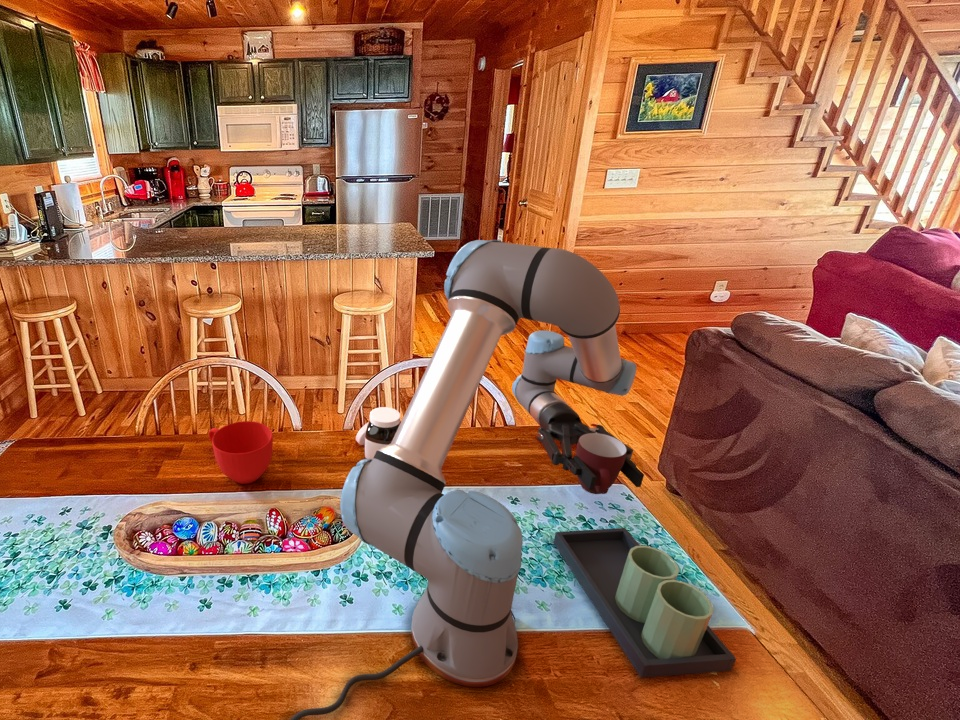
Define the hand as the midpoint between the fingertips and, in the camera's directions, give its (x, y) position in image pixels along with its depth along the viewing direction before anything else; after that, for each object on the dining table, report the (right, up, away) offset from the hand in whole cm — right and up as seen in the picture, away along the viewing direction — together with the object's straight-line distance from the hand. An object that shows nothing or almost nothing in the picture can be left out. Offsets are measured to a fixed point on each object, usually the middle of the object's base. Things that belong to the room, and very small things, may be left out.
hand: (616, 482), depth 90 cm
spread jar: (-39, -1, +29) cm, 49 cm away
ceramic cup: (-71, -4, +24) cm, 75 cm away
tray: (-3, -17, -8) cm, 19 cm away
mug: (0, -4, +7) cm, 8 cm away
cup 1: (-3, -18, -10) cm, 20 cm away
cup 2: (-2, -20, -16) cm, 26 cm away
